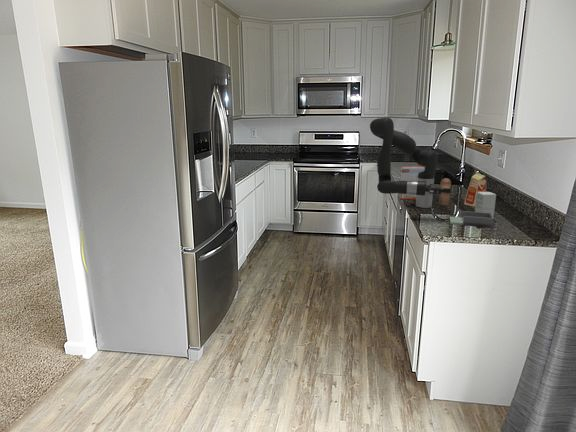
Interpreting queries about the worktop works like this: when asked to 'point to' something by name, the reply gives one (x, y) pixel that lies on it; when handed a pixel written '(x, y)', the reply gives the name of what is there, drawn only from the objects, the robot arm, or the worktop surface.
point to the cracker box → (409, 179)
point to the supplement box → (485, 202)
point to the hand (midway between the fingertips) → (450, 189)
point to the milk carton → (475, 188)
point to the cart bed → (474, 219)
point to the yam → (445, 196)
